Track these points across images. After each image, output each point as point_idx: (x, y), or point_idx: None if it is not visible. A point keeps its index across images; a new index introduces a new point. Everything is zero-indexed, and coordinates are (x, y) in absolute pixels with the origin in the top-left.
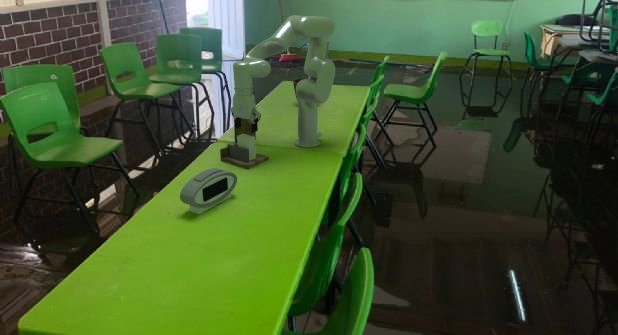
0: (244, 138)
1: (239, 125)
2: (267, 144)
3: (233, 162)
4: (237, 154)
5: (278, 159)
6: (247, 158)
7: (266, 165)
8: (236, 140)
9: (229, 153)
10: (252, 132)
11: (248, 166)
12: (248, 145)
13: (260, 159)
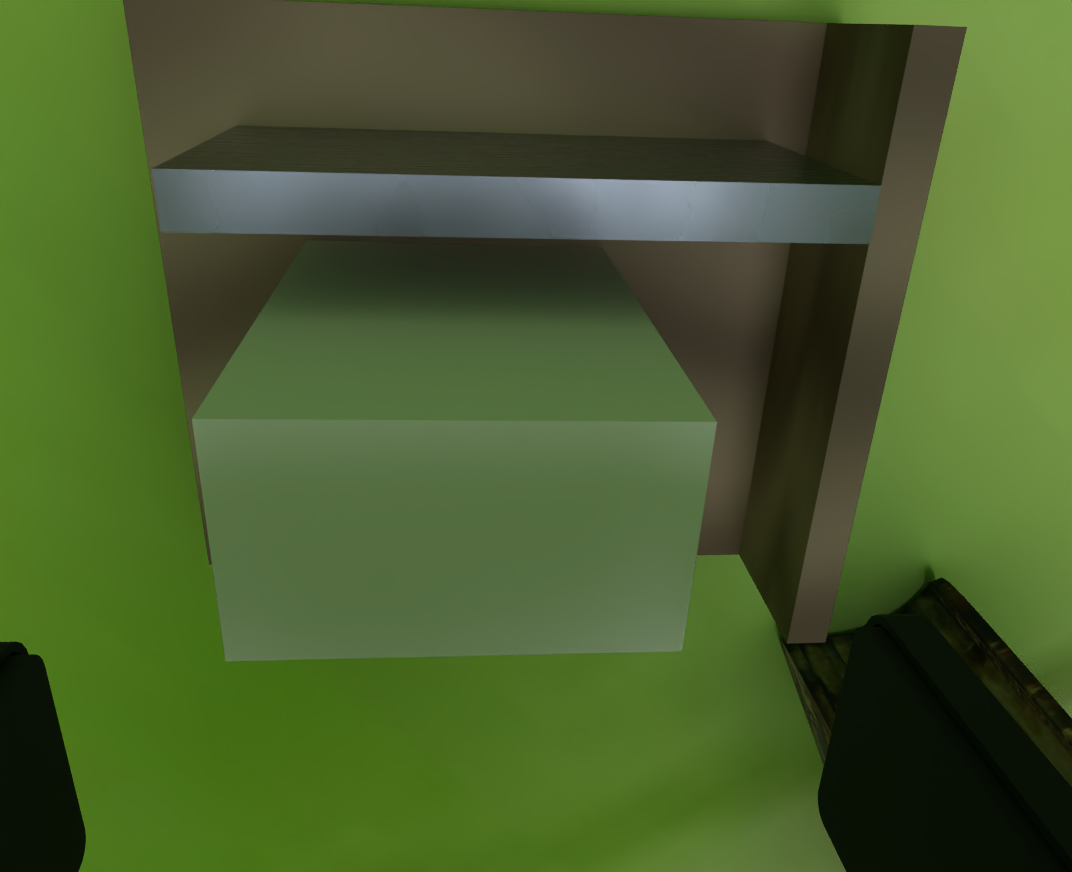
0: (381, 411)
1: (861, 795)
2: (644, 867)
3: (516, 11)
4: (513, 148)
5: (127, 621)
6: (214, 137)
7: (52, 348)
8: (988, 663)
9: (743, 149)
10: (3, 642)
11: (135, 34)
12: (252, 341)
13: None
